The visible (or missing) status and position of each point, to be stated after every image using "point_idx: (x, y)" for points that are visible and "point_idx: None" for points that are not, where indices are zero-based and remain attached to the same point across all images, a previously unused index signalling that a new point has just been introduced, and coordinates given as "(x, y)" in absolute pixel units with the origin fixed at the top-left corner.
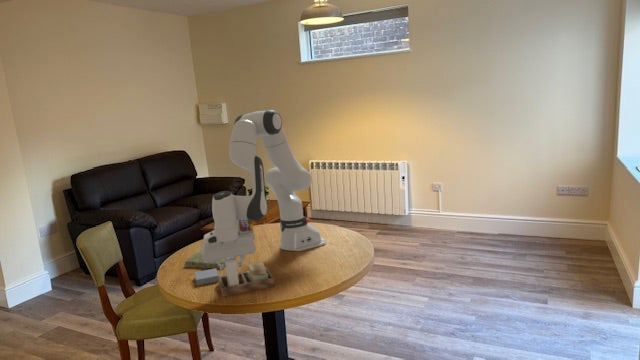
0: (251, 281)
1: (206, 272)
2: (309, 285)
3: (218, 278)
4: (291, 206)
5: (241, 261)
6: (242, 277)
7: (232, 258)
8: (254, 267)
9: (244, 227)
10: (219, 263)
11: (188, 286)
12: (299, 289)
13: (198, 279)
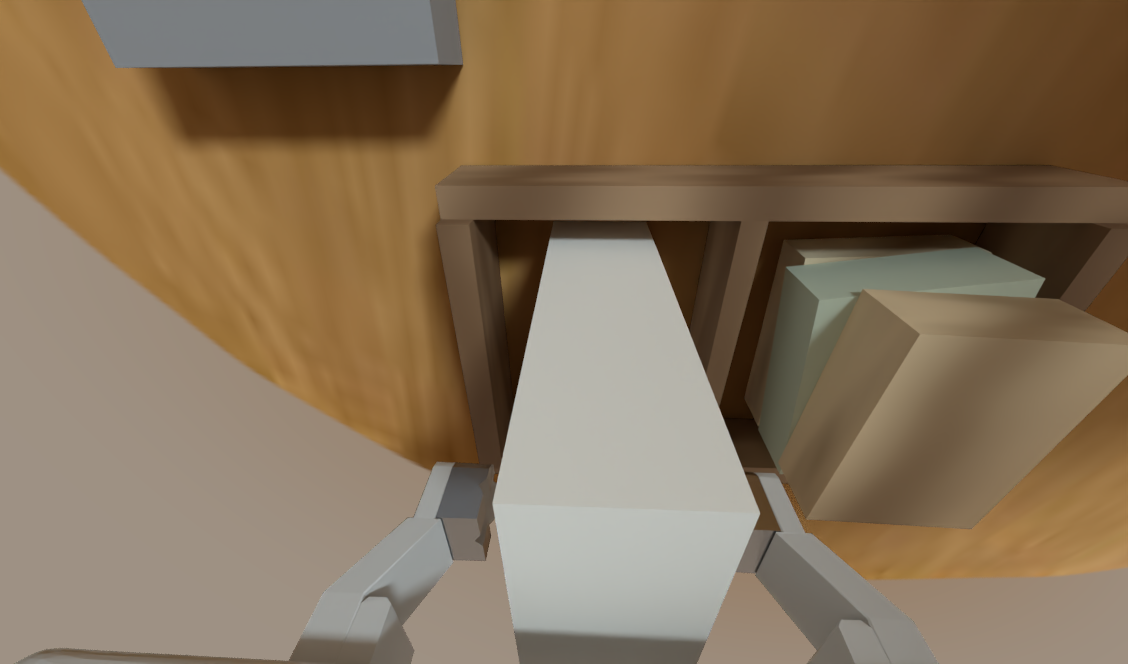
0: (771, 346)
1: None
2: (1061, 518)
3: (444, 253)
4: None
5: (779, 593)
6: (714, 323)
7: (653, 657)
8: (906, 450)
9: None
10: (412, 593)
11: (78, 29)
12: (965, 531)
13: (151, 65)
